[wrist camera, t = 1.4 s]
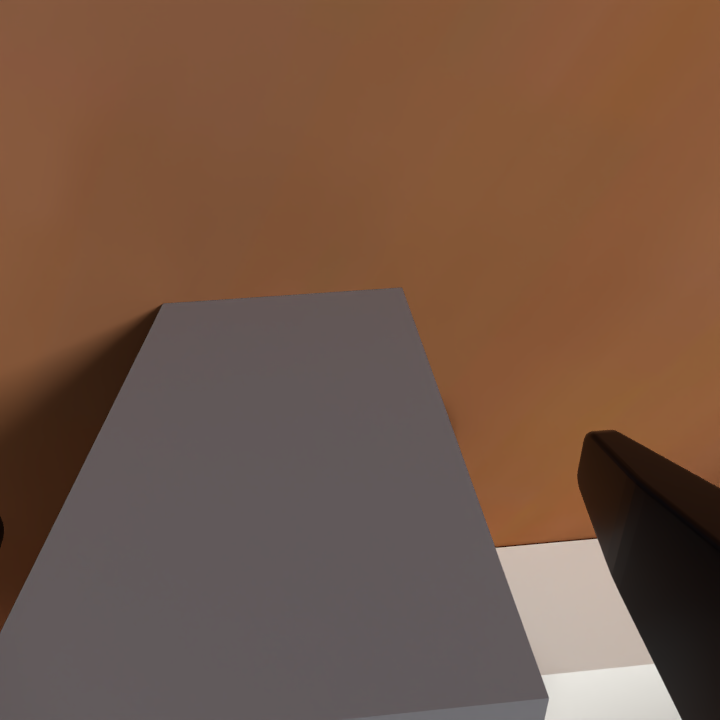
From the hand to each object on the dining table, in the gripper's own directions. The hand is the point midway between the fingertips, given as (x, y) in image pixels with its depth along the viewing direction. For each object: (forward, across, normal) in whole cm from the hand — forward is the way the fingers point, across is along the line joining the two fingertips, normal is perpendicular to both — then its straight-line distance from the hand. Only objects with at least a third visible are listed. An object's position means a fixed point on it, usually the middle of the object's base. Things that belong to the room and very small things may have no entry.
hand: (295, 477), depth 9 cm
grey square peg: (+2, 0, 0) cm, 2 cm away
